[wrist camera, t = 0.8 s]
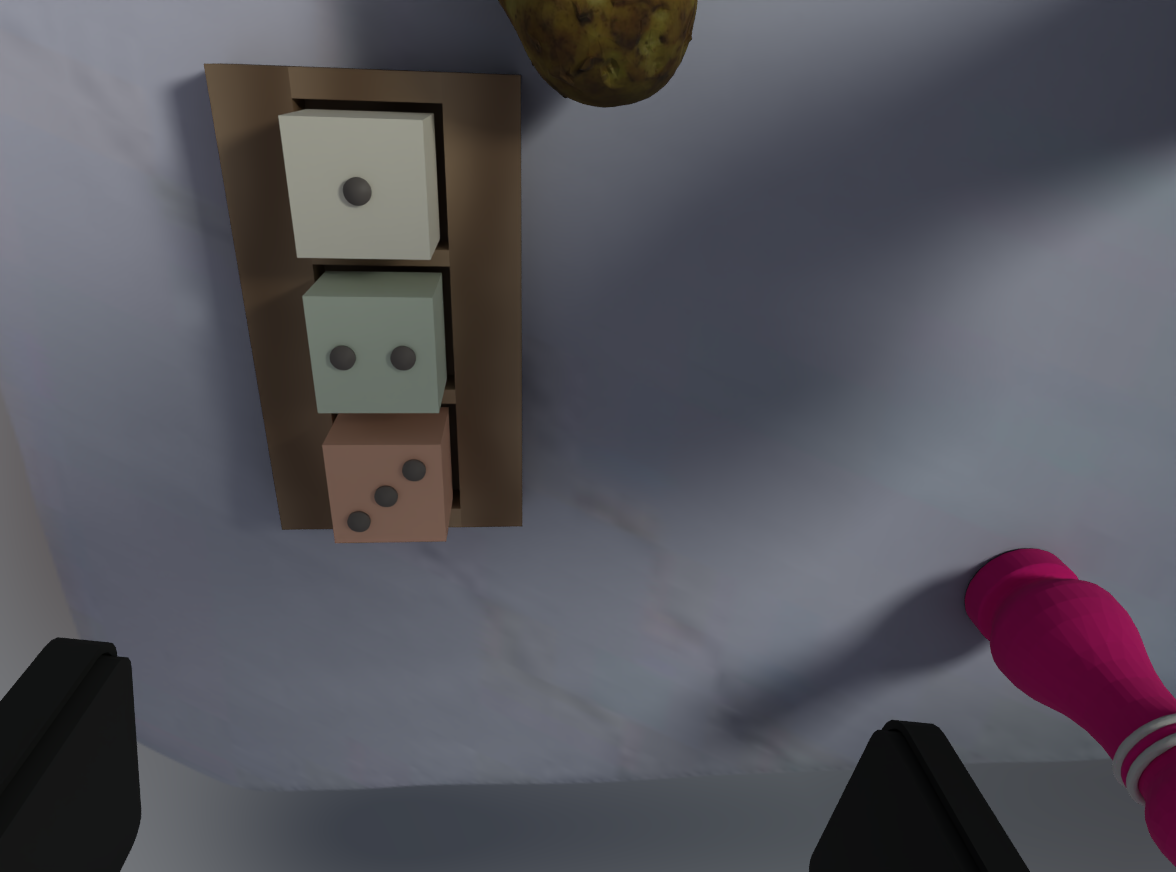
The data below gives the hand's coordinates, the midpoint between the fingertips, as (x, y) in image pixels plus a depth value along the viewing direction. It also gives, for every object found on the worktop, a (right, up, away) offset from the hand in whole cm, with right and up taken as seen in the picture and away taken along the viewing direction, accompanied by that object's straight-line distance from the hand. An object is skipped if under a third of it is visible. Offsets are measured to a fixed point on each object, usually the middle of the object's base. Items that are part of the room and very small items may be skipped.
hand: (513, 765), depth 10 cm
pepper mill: (+27, -5, +37) cm, 46 cm away
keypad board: (-8, +10, +26) cm, 29 cm away
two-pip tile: (-8, +9, +25) cm, 28 cm away
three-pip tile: (-8, +3, +28) cm, 29 cm away
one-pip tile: (-8, +15, +22) cm, 28 cm away
